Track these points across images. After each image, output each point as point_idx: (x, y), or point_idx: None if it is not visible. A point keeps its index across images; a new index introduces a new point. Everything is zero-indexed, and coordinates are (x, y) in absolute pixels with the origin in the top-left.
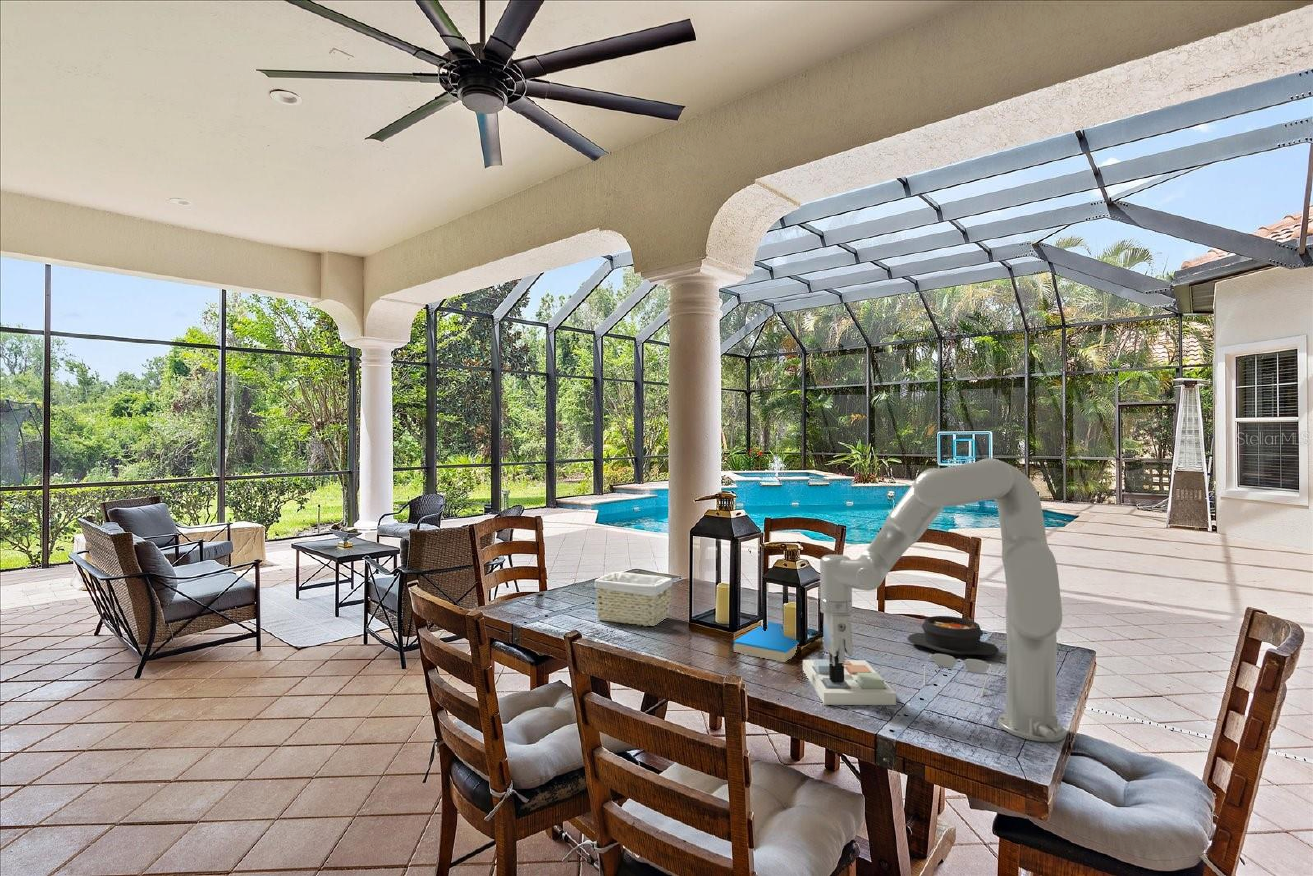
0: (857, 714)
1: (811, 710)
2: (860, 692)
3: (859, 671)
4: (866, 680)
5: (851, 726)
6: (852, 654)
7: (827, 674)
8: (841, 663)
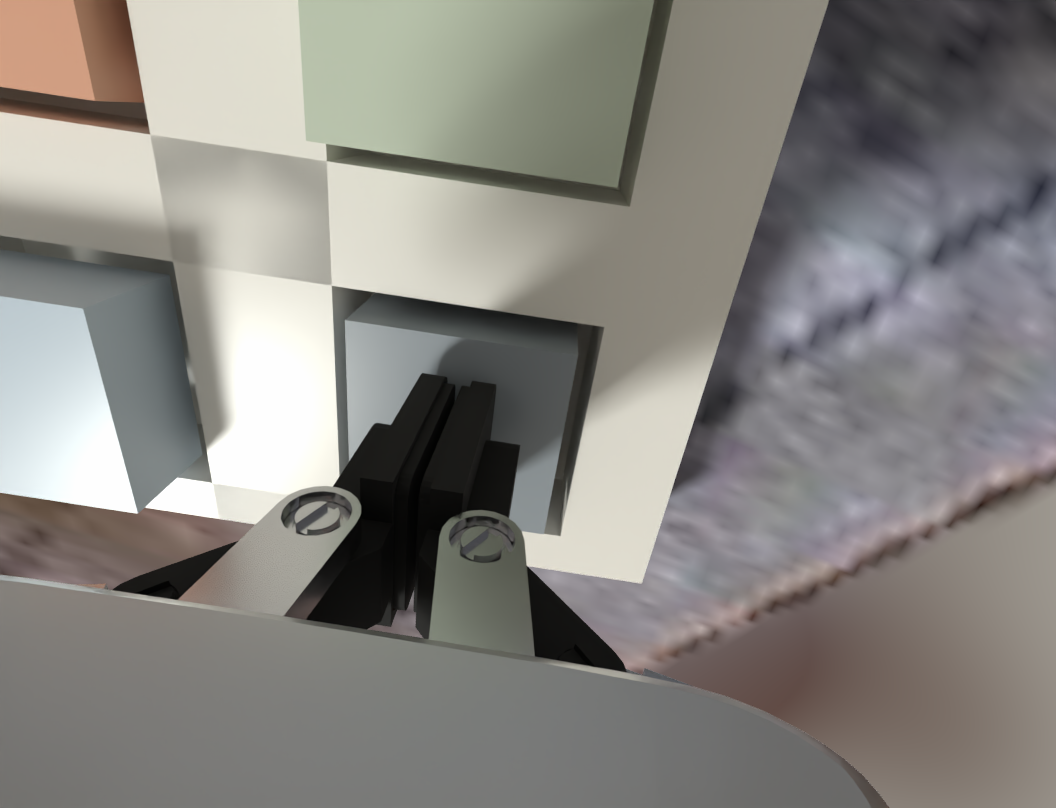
0: (855, 354)
1: (684, 601)
2: (720, 272)
3: None
4: (625, 134)
5: (1018, 483)
6: (875, 794)
7: (180, 387)
8: (569, 626)
